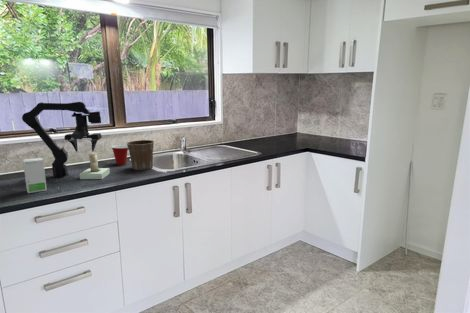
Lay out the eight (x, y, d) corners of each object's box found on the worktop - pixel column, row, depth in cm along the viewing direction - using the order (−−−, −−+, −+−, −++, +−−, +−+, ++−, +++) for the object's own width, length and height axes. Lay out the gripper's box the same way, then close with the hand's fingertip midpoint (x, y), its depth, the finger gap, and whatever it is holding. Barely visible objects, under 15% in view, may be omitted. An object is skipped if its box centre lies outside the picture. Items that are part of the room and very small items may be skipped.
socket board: (80, 179, 178) (79, 174, 178) (89, 173, 190) (88, 168, 189) (102, 178, 179) (101, 173, 178) (109, 173, 190) (109, 168, 190)
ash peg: (89, 177, 182) (87, 154, 179) (93, 175, 186) (90, 152, 183) (97, 177, 182) (95, 154, 179) (100, 175, 186) (98, 152, 184)
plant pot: (123, 171, 195) (121, 144, 191) (135, 164, 210) (133, 139, 207) (149, 171, 192) (148, 144, 189) (159, 165, 208) (158, 140, 205)
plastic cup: (132, 164, 210) (131, 146, 208) (115, 166, 204) (113, 148, 202) (127, 161, 219) (126, 143, 216) (111, 163, 213) (109, 145, 211)
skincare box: (27, 193, 156) (22, 161, 152) (26, 190, 161) (21, 159, 157) (47, 190, 160) (43, 159, 157) (46, 187, 166) (41, 157, 162)
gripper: (57, 126, 176) (61, 154, 179) (92, 125, 176) (95, 154, 179) (67, 123, 187) (70, 150, 190) (100, 123, 187) (103, 150, 190)
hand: (84, 151), depth 187 cm, fingers open, 9 cm apart
